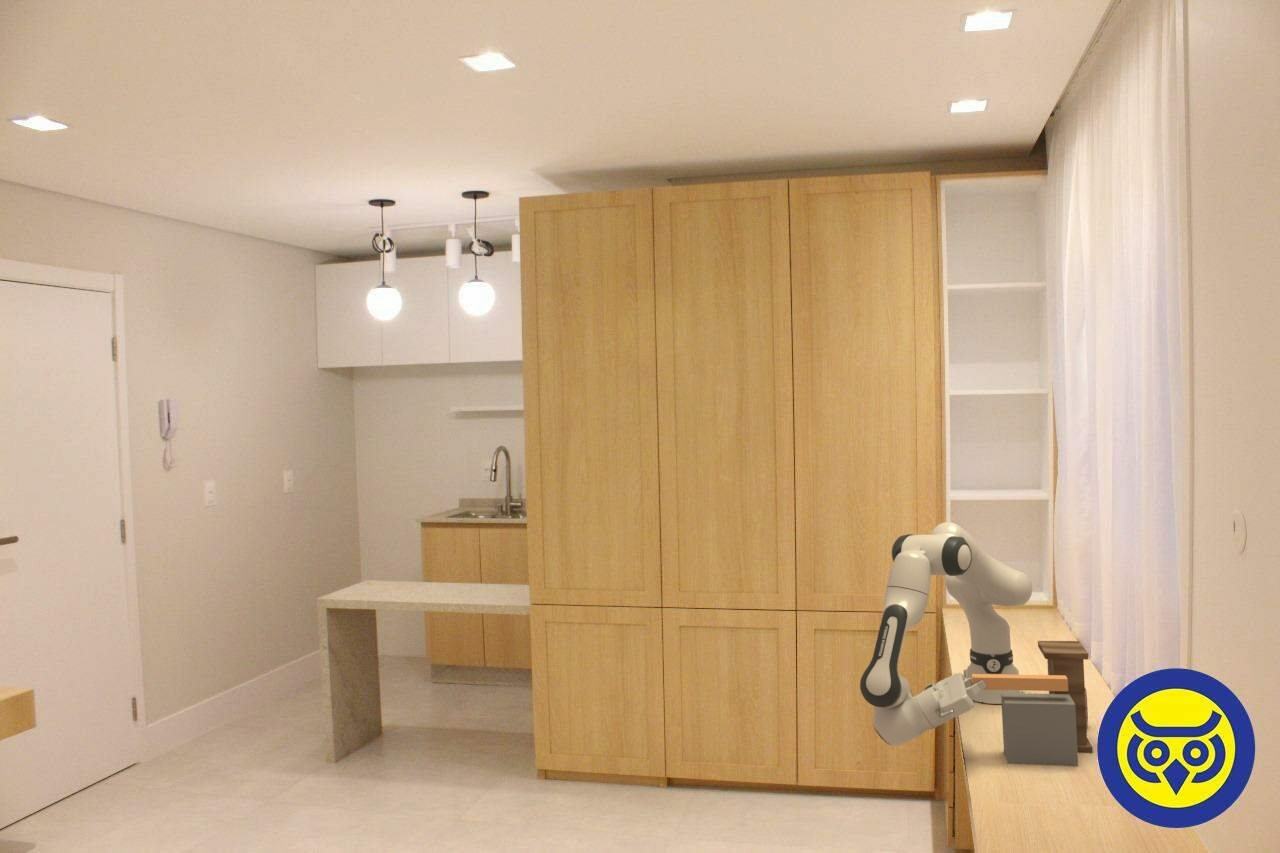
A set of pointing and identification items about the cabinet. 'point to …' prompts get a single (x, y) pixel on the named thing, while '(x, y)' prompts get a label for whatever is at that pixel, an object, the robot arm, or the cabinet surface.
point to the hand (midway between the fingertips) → (984, 679)
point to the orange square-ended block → (1022, 682)
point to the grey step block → (1039, 729)
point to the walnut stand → (1070, 680)
